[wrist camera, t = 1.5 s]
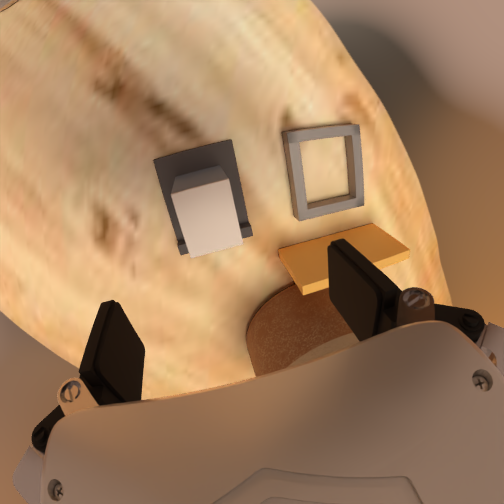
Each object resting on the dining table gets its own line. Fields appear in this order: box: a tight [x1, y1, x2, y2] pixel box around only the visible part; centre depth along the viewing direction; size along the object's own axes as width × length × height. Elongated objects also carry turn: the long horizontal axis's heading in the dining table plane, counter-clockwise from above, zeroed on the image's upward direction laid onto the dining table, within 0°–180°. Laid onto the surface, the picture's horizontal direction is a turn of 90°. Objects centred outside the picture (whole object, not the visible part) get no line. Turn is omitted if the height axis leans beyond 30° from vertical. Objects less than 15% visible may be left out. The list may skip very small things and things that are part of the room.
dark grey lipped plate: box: [153, 140, 253, 255], centre depth 24 cm, size 9×7×2 cm
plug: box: [171, 165, 243, 258], centre depth 21 cm, size 5×4×6 cm
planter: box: [246, 285, 360, 377], centre depth 29 cm, size 16×16×14 cm
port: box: [278, 124, 410, 295], centre depth 24 cm, size 13×12×7 cm
